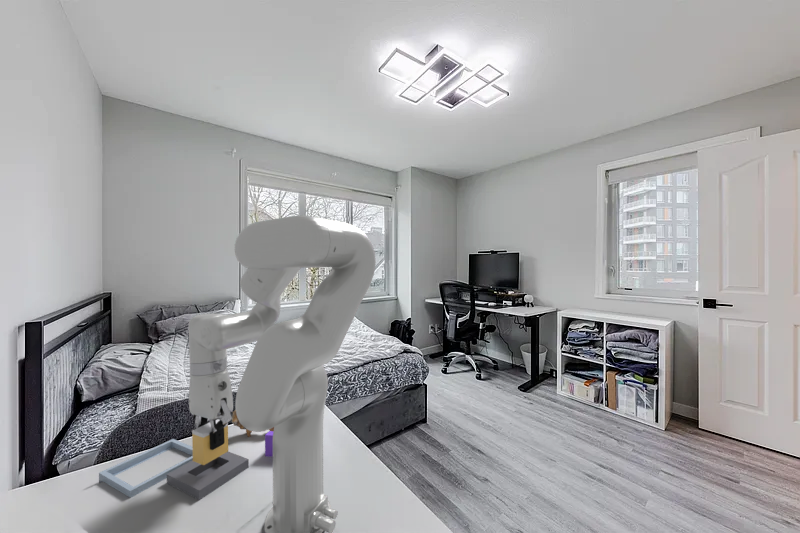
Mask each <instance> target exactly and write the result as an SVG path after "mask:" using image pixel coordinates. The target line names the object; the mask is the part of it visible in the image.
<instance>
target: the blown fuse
mask: <svg viewBox="0 0 800 533" xmlns="http://www.w3.org/2000/svg"><path fill="white" fill-rule="evenodd" d="M218 421H220V419H217V420H216V424H217V423H218ZM210 432H212V431H211V424H210V422H209V423H207V424H205V425H203V426H201V427H199V428H195V429H192V434H191V435H192V437H191V442H192V445H191V446H192V447H193V461H194V462H197V463H199V464H202V465H205V464H207V463H209V462H210V461H212V460H214V459H216V458H217V457H219V456H221V455H223V454H224V453H226V452H229V422H227V424H226V427H225V428H224V444H223V445H221V446H219V447H217V448H216V449H214V450H211V449H210Z"/></svg>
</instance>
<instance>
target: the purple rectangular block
mask: <svg viewBox="0 0 800 533" xmlns="http://www.w3.org/2000/svg"><path fill="white" fill-rule="evenodd" d="M264 456H265V457H267V458H268V457H271V458H273V431H270V430H268V431H267V433H265V435H264Z"/></svg>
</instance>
